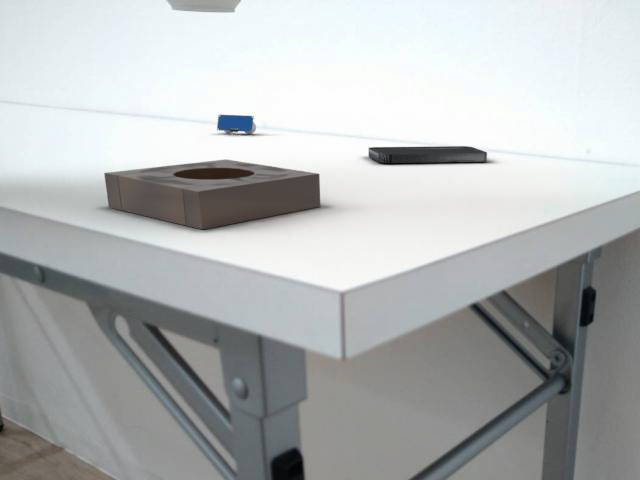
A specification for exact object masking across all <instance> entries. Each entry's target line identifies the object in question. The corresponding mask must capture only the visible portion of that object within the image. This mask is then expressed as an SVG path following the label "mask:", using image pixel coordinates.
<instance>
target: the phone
mask: <svg viewBox="0 0 640 480" xmlns="http://www.w3.org/2000/svg"><path fill="white" fill-rule="evenodd" d="M368 157H369V158H370V159H372V160H374V161H376V162H377V163H381V164H417V163H419V164H420V163H423V164H426V163H428V164H429V163H473V162H474V163H475V162H476V163H477V162H487V160H488V151H486V150H481V149H478V148H476V147H473V146H467V145H465V146H464V145H462V146H461V145H459V146H456V145H455V146H452V145H451V146H449V145H448V146H447V145H446V146H444V145H443V146H372V147H371V146H370V147H368Z"/></svg>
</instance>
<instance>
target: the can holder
mask: <svg viewBox="0 0 640 480" xmlns="http://www.w3.org/2000/svg"><path fill="white" fill-rule="evenodd" d="M320 180H321V179H320V173H316V172H310V171H303V170H297V169H291V168H284V167H280V166H279V167H277V166H273V165H265V164H258V163H251V162H245V161H238V160H232V159H227V158H225V159H218V160H209V161H199V162H191V163H181V164H180V163H179V164H173V165H172V164H171V165H163V166H155V167H146V168H138V169H137V168H136V169H129V170H128V169H127V170H119V171H110V172H104V182H105V190H106V198H107V203H108V208H109V209H110V208H111V209H114V210H119V211H123V212H127V213H132V214H135V215H140V216H144V217H148V218H153V219H155V220H156V219H157V220H161V221H165V222H169V223H173V224H174V223H175V224H178V225H182V226H186V227H191V228H195V229H198V230H207V229H212V228H213V229H214V228H218V227H222V226H223V227H224V226H227V225H233V224H238V223H243V222H248V221H253V220H258V219H265V218H268V217H269V218H270V217H273V216H278V215H284V214H285V215H286V214H289V213H294V212H299V211H300V212H301V211H306V210H311V209H315V208H320V207H321V184H320V183H321V182H320Z"/></svg>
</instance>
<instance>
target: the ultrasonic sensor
mask: <svg viewBox="0 0 640 480" xmlns="http://www.w3.org/2000/svg"><path fill="white" fill-rule="evenodd" d="M256 130H257V125H256V123H255V122H254V115H244V114H243V115H242V114H241V115H239V114H218V116H217V124H216V131H220V132H221V131H223V132H224V133H225V134H230V135H232V136H235V135H236V136H237V135H238V132H244V133H245V134H247V135H252V134H254V133H255V132H256Z"/></svg>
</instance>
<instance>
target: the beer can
mask: <svg viewBox="0 0 640 480" xmlns="http://www.w3.org/2000/svg"><path fill="white" fill-rule="evenodd" d="M165 1H166V2H167V3H168V4H169V5H170V6H171V10H173V11H181V12H182V11H183V12H195V13H197V12H198V13H225V14H226V13H236V8H237V7H238V5H240V3H241V2H242V1H241V0H165Z"/></svg>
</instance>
